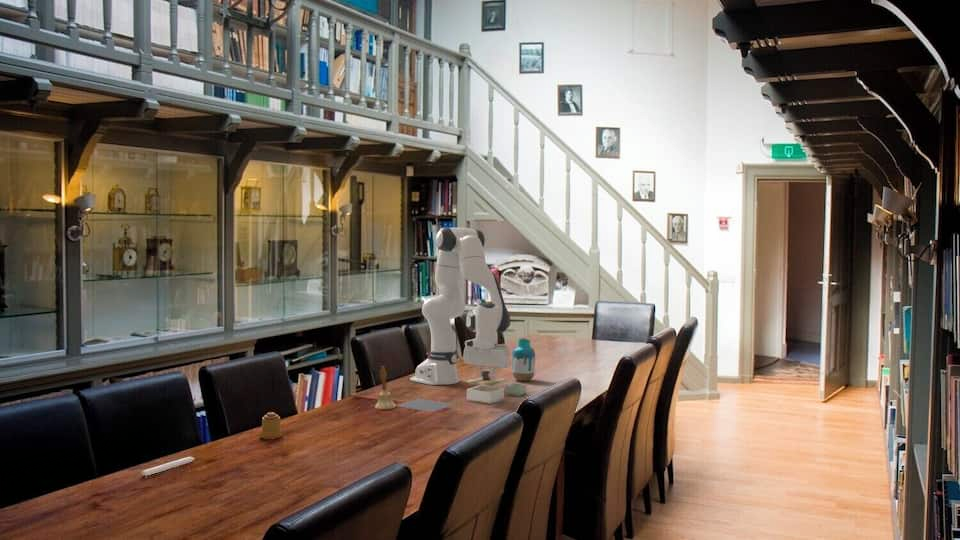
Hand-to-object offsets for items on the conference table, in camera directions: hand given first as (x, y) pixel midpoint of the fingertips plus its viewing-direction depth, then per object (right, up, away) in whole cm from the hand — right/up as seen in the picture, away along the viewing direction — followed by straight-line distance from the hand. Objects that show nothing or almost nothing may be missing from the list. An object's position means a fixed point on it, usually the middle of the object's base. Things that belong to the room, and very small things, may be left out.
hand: (486, 376), depth 327 cm
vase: (+17, -8, +44) cm, 48 cm away
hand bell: (-39, -10, -14) cm, 43 cm away
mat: (-24, -10, -11) cm, 28 cm away
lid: (0, -2, 0) cm, 2 cm away
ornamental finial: (-72, -12, -59) cm, 93 cm away
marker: (-91, -14, -95) cm, 132 cm away
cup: (+13, -9, +14) cm, 21 cm away
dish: (0, -10, +1) cm, 10 cm away
